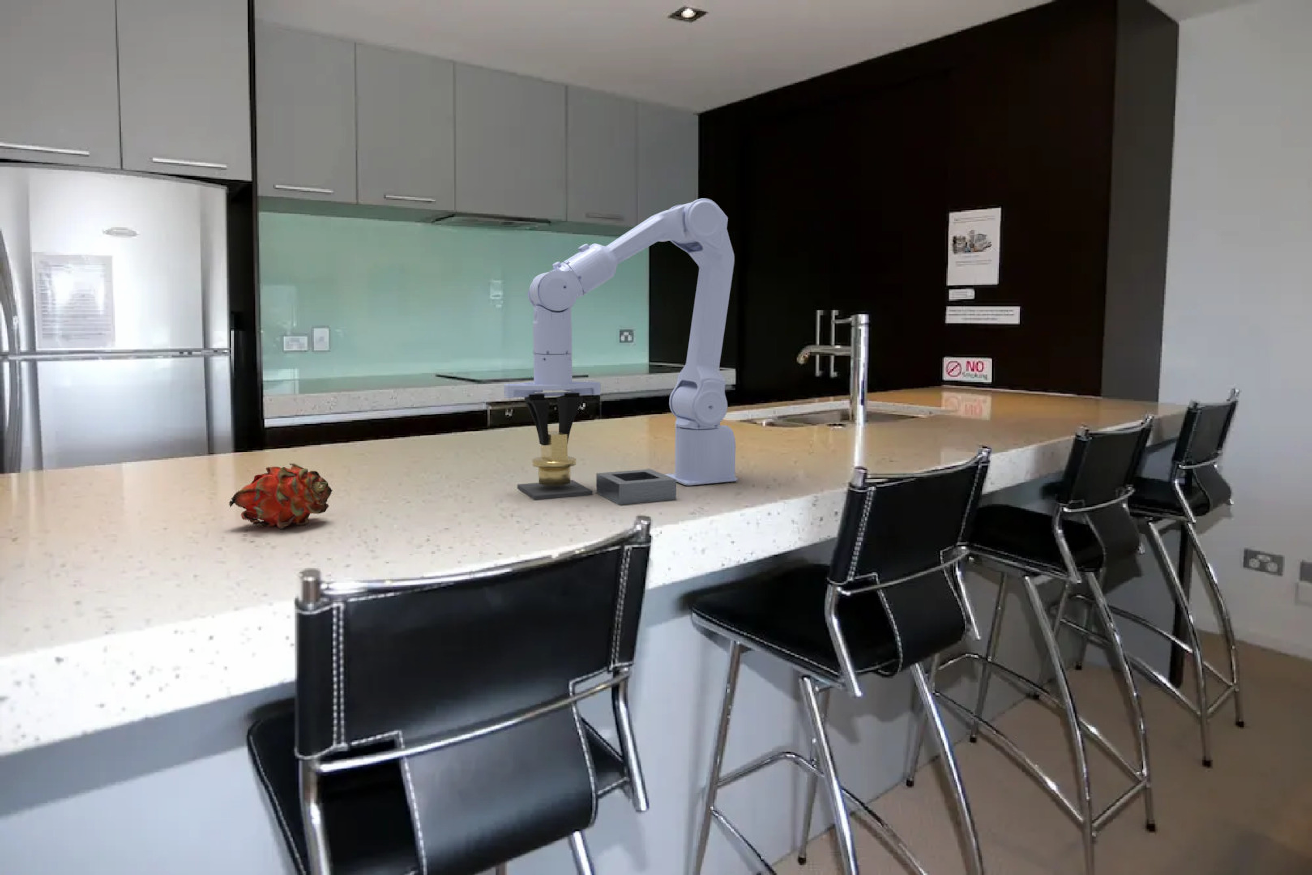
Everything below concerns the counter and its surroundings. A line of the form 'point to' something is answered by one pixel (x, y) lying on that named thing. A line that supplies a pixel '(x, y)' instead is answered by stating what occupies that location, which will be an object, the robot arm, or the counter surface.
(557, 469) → the end cover
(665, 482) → the housing
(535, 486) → the mat
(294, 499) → the dragon fruit
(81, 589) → the counter surface
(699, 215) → the robot arm
